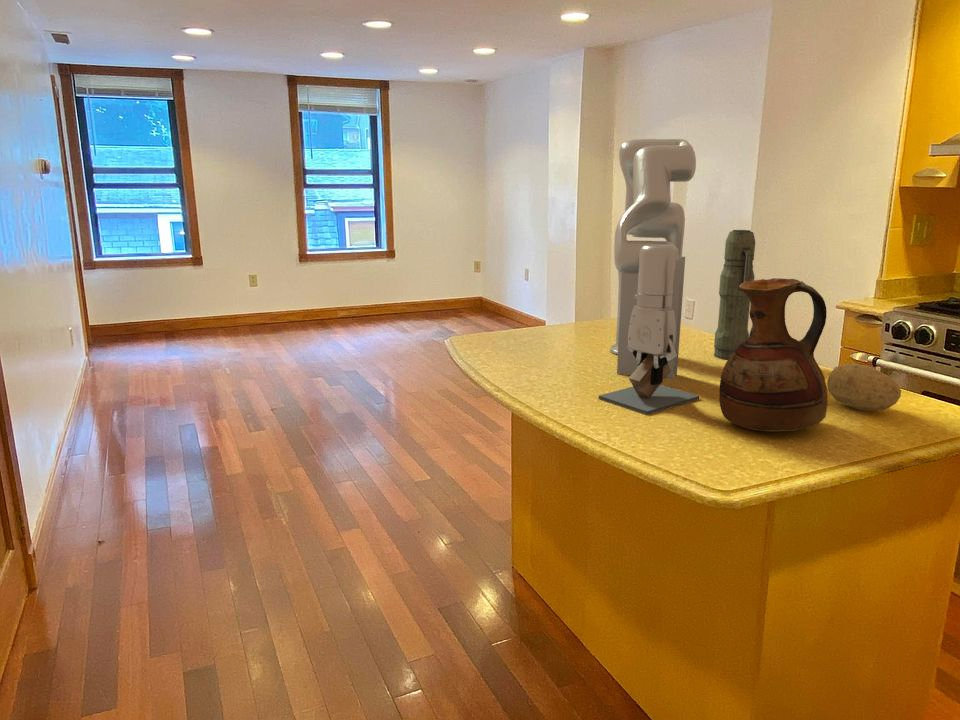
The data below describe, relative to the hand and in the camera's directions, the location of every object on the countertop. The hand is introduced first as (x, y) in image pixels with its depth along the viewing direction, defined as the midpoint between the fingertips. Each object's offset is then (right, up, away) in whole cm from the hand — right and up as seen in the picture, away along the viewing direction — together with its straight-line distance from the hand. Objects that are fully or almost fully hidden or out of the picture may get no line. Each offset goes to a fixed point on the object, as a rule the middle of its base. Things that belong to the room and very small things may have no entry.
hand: (649, 381), depth 156 cm
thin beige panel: (+5, +1, +22) cm, 22 cm away
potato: (+44, -6, -5) cm, 45 cm away
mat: (0, -4, +1) cm, 4 cm away
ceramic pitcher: (+20, -9, -15) cm, 27 cm away
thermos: (+32, +6, +39) cm, 51 cm away
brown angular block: (+1, 0, +1) cm, 2 cm away
